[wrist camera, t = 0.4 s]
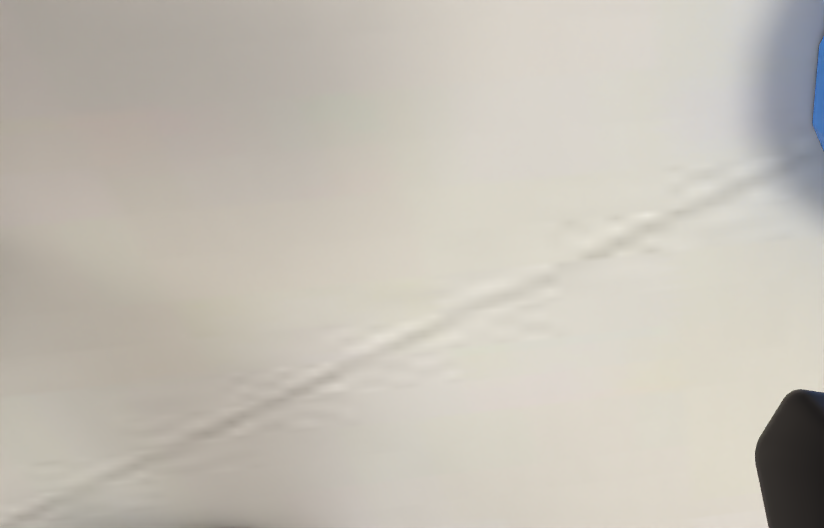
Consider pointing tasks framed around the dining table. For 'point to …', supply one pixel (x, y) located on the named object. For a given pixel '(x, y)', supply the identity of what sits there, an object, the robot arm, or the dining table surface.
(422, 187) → the dining table surface
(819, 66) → the tape roll
